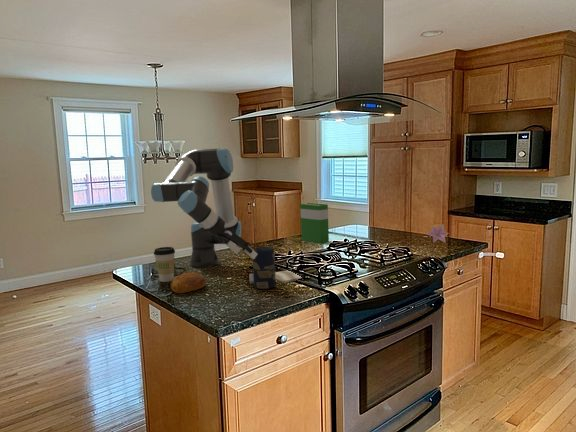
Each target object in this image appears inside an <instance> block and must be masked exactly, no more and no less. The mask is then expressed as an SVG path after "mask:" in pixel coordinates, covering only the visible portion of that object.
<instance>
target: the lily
mask: <svg viewBox="0 0 576 432" xmlns="http://www.w3.org/2000/svg"><path fill="white" fill-rule="evenodd" d="M444 229H445V226H444V224H443V223H442V224H440V225H439V226H438V227H436V226H434V225H431V230H430V231H428V232H426V235H428V236H431V237H432V240H433V241H432V242H433V243H435V242H436V241H438V240H440V241H441V242H443V243H446V238H445V236H447V235H449V232H447V231H444Z"/></svg>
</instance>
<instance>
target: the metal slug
mask: <svg viewBox="0 0 576 432" xmlns="http://www.w3.org/2000/svg"><path fill="white" fill-rule="evenodd" d="M248 276H249V277H248V278H249V279H248V280H249V285H254V276H253V273H249V274H248Z"/></svg>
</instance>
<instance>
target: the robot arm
mask: <svg viewBox="0 0 576 432" xmlns="http://www.w3.org/2000/svg"><path fill="white" fill-rule="evenodd" d="M233 171H234V161H233V157H232V154H231V151H230V150H229V149H228V148H221V147H218V148H202V149H201V148H200V149H199V148H198V149H193V150H190V151H188V152H186V153H184V154H183V155H181V156H180V157H179V158H178V159H177V160H176V162H175V166H174V167H173V168H172V170H171V171H170V172H169V174H168V175H167V176H166V177H165V179H164V180H163V181H162V182H155V183H153V184H152V185H151V188H150V195H151V198H152V200H153V201H154V202H156V203H157V202H158V203H166V202H167V203H169V202H177V205H178V207H179V208H180V209H181V210H182V212H183V213H185V214H187V215H188V216H189V217H190V218H192V219H193V220H194V221H195V222H193V223H192V224H191V225H190V236H191V247H192V251H191V255H190V259H189V265H190V267H193V268H206V267H212V266H215V265H216V266H217V265H218V264H219V263H220V261H219V260H220V259H219V256H218V255H217V252H216V248H215V245H226V246H227V248H229V249H230V250H231V251H232V252H234V254H235V255H238V253H239V252H240V251H242V252H244V253H246V254H247V255H248V257H250V258H251V259H252V260H253V259H255V257H256V256H257V255H258V254H257V253H256V252H255V251H254V250H253V249H254V248H252V246H250V243H249V242H247V241H246V240H245V239H243V238H242V237H241V236H242V222H241V221H239V220H238V217H237V216H236V215H235V214H234V208H233V207H234V205H233V200H232V193H231V187H230V181H229V178H230V176H232V175H231V174H232V173H233ZM200 174H201V175H206V178H205V177H203V176H199V175H200ZM193 175H198V176H195V177H193V178H192V179H191V180H190V181H188V179H189V178H190V177H191V176H193ZM209 181H210V182H209ZM210 183H211V189H212V195H213V201H214V206H215V207H214V208H215V211H214V209H212V208H211V207H210V206H209V205H208V204H207V203H206V201H207V198H208V195H209V191H210ZM241 249H242V250H241Z"/></svg>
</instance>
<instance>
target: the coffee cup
mask: <svg viewBox="0 0 576 432" xmlns="http://www.w3.org/2000/svg"><path fill="white" fill-rule="evenodd" d="M175 253H176V250H175V248H174V247H172V246H162V247H161V246H160V247H156V248H155V249H154V252H153V255H154V258H155V265H156V270H157V274H158V279H159V282H162V283H167V282H172V280H173V279H174V278H175V276H174V273H175V258H176V257H175Z"/></svg>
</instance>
